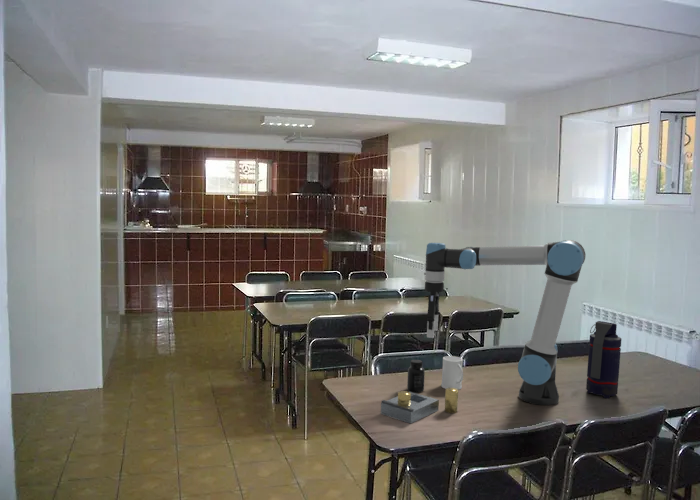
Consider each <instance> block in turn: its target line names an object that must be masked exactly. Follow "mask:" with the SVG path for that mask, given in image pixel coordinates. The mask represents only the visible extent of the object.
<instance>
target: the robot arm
mask: <svg viewBox="0 0 700 500" xmlns="http://www.w3.org/2000/svg"><path fill="white" fill-rule="evenodd" d="M585 260H586V251H585V249H584V246H583V245H582V244H581V243H579V242H578V241H576V240H574V239H565V240H561V241H557V242H556V241H555V242H546V243H545V244H544V245H543V244H542V245H515V246H514V245H511V246H509V245H508V246H480V247H478V246H477V247H474V246H466V247H464V248H447V247H446V243H444V242H429V243H427V244H426V252H425V272H423V275H424V279H425V281H424V291H425V292H429V293H430V294H429V295H428V298H427V299H428V302H427V303H428V304H427V305H428V306H427V317H426V318H425V322H427V323H426V338H428V339H429V338H430V339H431V338H432V339H434V338H435V331H438V330H439V329H438V327H439V315H441V312H440V306H439V305H440V304H439V303H440V295H439V293H442V292H443V293H444V287H445V285H444V284H445V283H444V281H445V268H450V269H451V268H452V269H460V270H473V269H475V267H476V266H478V267H479V266H546V267H545V270H544V276H546V282H545V285H544V286H545V287H544V289H543V290H544V291H543V294H542V297H541V302H540V305H539V308H538V312H537V315H536V320H535V323H534V326H533V331H532V335H531V338H530V340H528V341H526V342H525V344H524V346H523V347H524V348H523V350H522V354H521V358H520V359H519V362H518V364H517V372H518V375H519V376H520V378H521V379H522V383H521V385H520V388H519V390H518V398H519V399H520V400H522V401H524V402H527V403H529V404H533V405H540V406H553V405H556V404H558V403H559V402H560V394H559V391H558V387H557V383H556V376H557V375H556V374H557V359H558V352H559V351H558V345H557V344H556V343H557V339H558V336H559V335H558V334H559V331H560V329H561V325H562V321H563V317H564V315H565V314H564V313H565V311H566V307H567V304H568V299H569V296H570V293H571V289H572V286H573V285H574V284H576V283H578V281H579V278H580V274H581V270H582V267H583V264H584V263H585Z"/></svg>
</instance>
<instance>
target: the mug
mask: <svg viewBox="0 0 700 500" xmlns="http://www.w3.org/2000/svg"><path fill="white" fill-rule="evenodd" d="M463 363H464V362H463V358H461V357H459V356H455V355H446V356H443V357H442V372H441V384H440V387H441V388H443V389H445V390H446V388H456V389H458V391H459V390H461V389H462V388H463V386H462V381H463V380H464V371H463Z"/></svg>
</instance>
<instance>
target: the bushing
mask: <svg viewBox="0 0 700 500" xmlns="http://www.w3.org/2000/svg"><path fill="white" fill-rule="evenodd" d="M444 395H445V396H444V412H446V413H448V414H456V413H458V404H459V403H458V402H459V390H458V389H456V388H446V389H445V393H444Z"/></svg>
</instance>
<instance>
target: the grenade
mask: <svg viewBox="0 0 700 500" xmlns="http://www.w3.org/2000/svg"><path fill="white" fill-rule="evenodd" d="M617 326H618V325H617V323H614V322H608V321H601V320H598V321H595V323H594V324H592V326H591V327H590V330H589V333H590V335H589V341H588V343H589V344H588V355H587V356H588V357H587V359H588V360H587V368H586V369H587V371H586V385H585V386H586V387H585V389H586V391H587V394H589V393H591V394H593V395H598V396H602V397H603V399H610V397H614V396H617V395H618V391H619V390H618V389H619V376H620V366H621V363H620V362H621V350H622V348H621V347H622V338H621V337H620V336H618V335H619V334H617ZM593 327H594V329H593V330H592V328H593Z"/></svg>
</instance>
